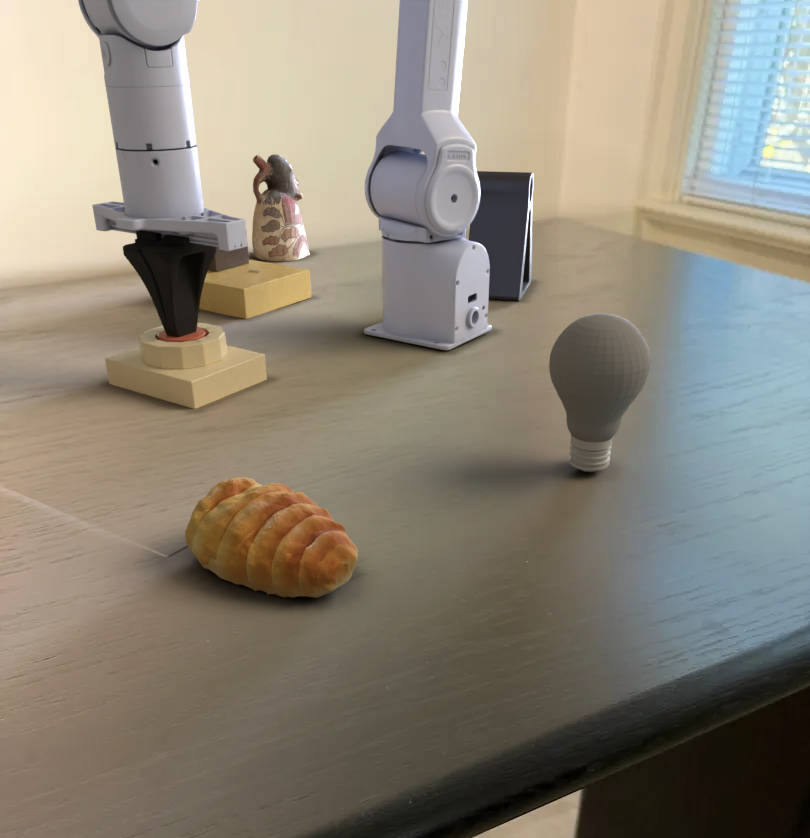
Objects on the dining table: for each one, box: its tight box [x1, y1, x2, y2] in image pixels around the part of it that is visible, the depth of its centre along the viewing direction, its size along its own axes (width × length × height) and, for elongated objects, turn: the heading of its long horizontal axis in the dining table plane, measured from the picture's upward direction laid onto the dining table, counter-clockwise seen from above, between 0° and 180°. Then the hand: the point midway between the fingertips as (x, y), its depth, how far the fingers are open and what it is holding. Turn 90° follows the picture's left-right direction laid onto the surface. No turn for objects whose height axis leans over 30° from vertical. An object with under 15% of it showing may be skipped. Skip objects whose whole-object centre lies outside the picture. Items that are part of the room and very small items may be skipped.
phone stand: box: [468, 170, 535, 302], centre depth 95 cm, size 9×6×12 cm, turn 164°
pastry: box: [184, 476, 359, 598], centre depth 46 cm, size 9×7×4 cm
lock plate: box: [199, 259, 312, 320], centre depth 94 cm, size 13×10×3 cm
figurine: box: [251, 153, 311, 262], centre depth 111 cm, size 7×7×12 cm
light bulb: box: [548, 312, 652, 473], centre depth 55 cm, size 6×6×10 cm
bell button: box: [159, 328, 206, 342], centre depth 71 cm, size 4×4×2 cm
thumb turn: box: [208, 231, 250, 272], centre depth 94 cm, size 5×1×4 cm, turn 145°
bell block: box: [104, 322, 268, 410], centre depth 71 cm, size 10×8×4 cm
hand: (181, 333), depth 70 cm, fingers closed, pressing on bell button
